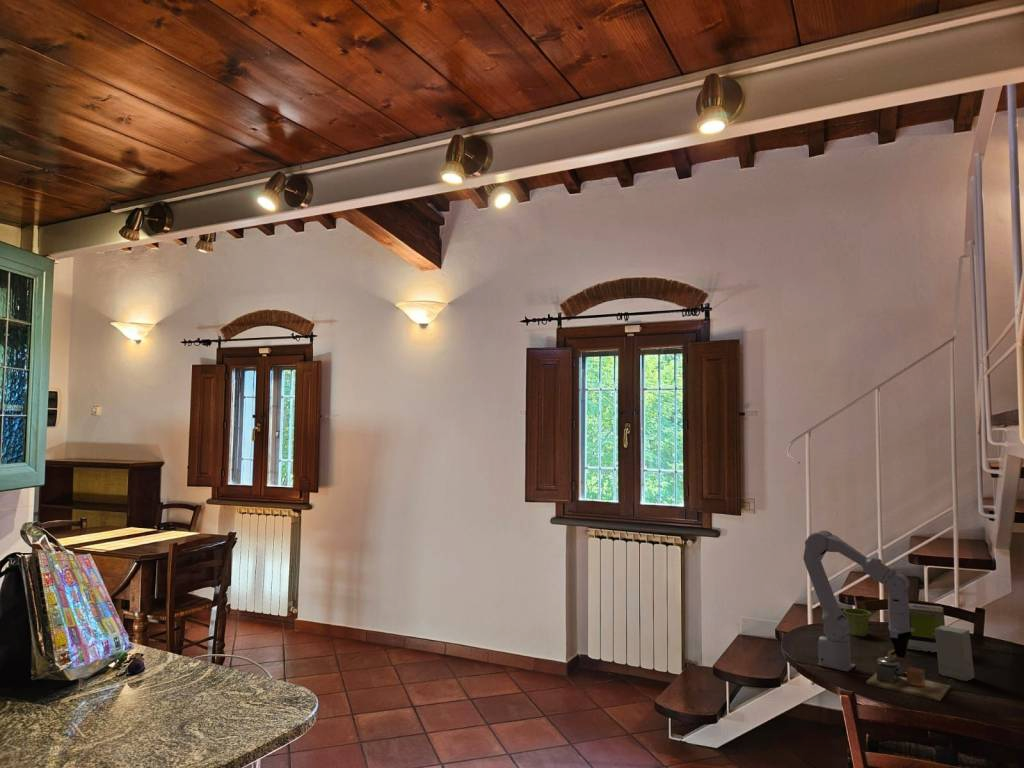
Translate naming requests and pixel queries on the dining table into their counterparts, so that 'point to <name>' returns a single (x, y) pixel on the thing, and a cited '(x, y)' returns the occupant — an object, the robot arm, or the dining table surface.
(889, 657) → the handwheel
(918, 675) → the brown blocky piece
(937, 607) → the tea box
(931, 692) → the oak board
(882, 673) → the eye block
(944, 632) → the skincare box
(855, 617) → the plant pot
